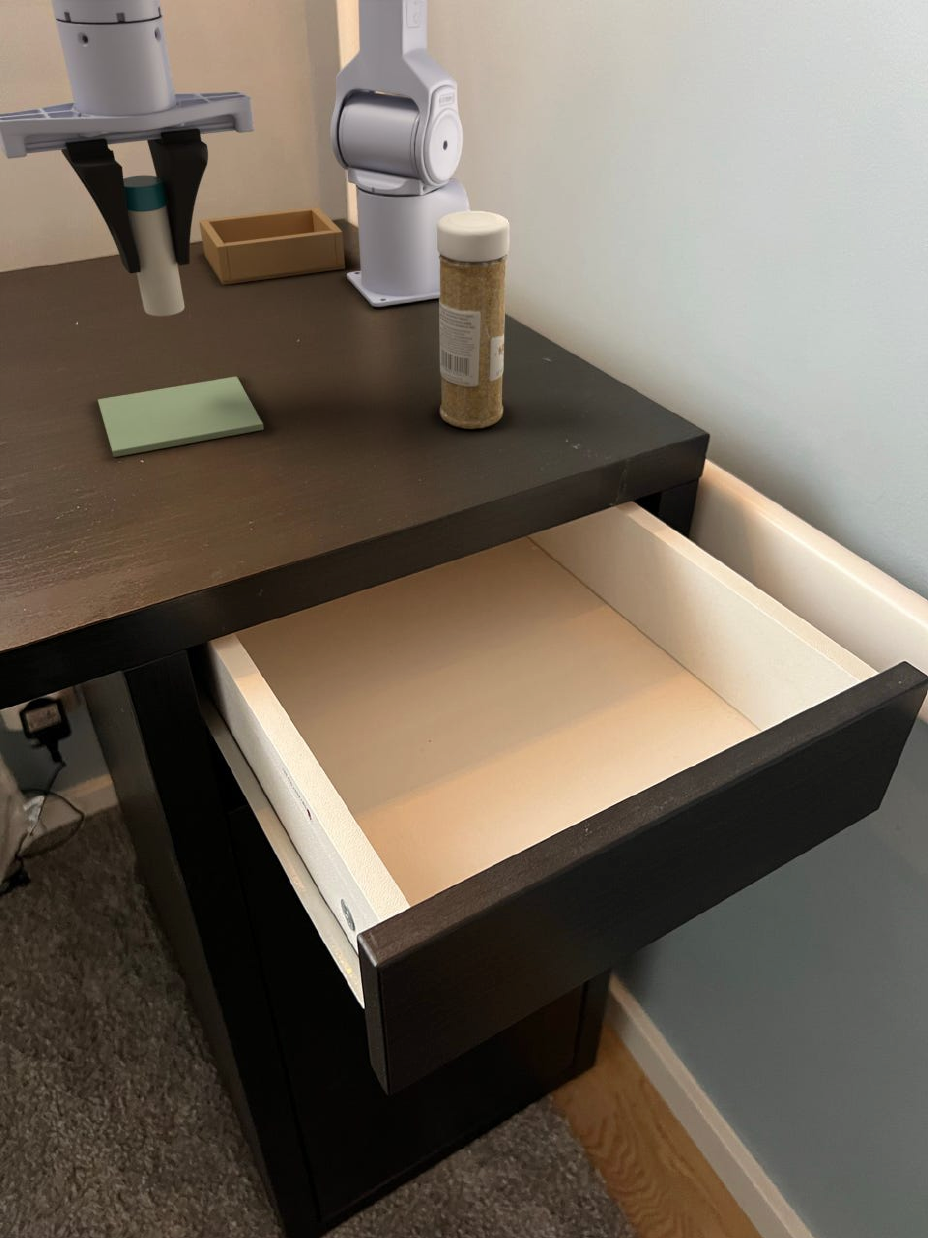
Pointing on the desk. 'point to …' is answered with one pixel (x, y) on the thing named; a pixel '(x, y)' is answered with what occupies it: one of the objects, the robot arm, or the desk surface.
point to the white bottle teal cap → (154, 245)
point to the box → (272, 245)
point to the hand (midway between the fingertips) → (156, 263)
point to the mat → (178, 416)
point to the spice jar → (472, 316)
